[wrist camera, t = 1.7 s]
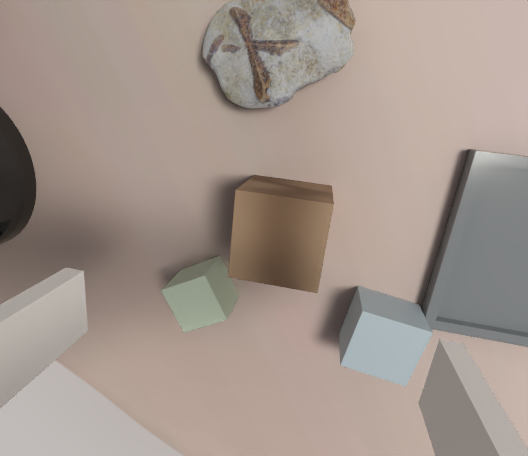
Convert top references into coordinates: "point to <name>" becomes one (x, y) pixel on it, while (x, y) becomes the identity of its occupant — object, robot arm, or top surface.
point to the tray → (484, 253)
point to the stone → (277, 47)
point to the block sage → (201, 294)
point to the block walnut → (280, 232)
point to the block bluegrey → (383, 336)
